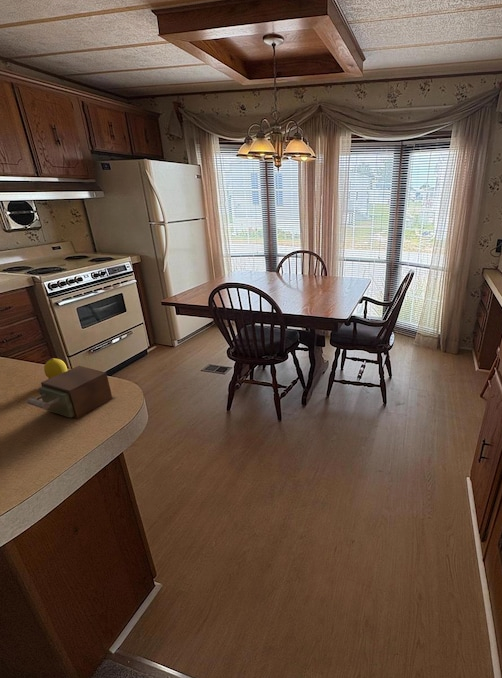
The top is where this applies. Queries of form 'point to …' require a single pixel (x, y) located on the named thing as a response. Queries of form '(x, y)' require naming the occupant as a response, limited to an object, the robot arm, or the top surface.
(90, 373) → the cabinet
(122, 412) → the top surface
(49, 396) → the drawer
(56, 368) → the lemon
